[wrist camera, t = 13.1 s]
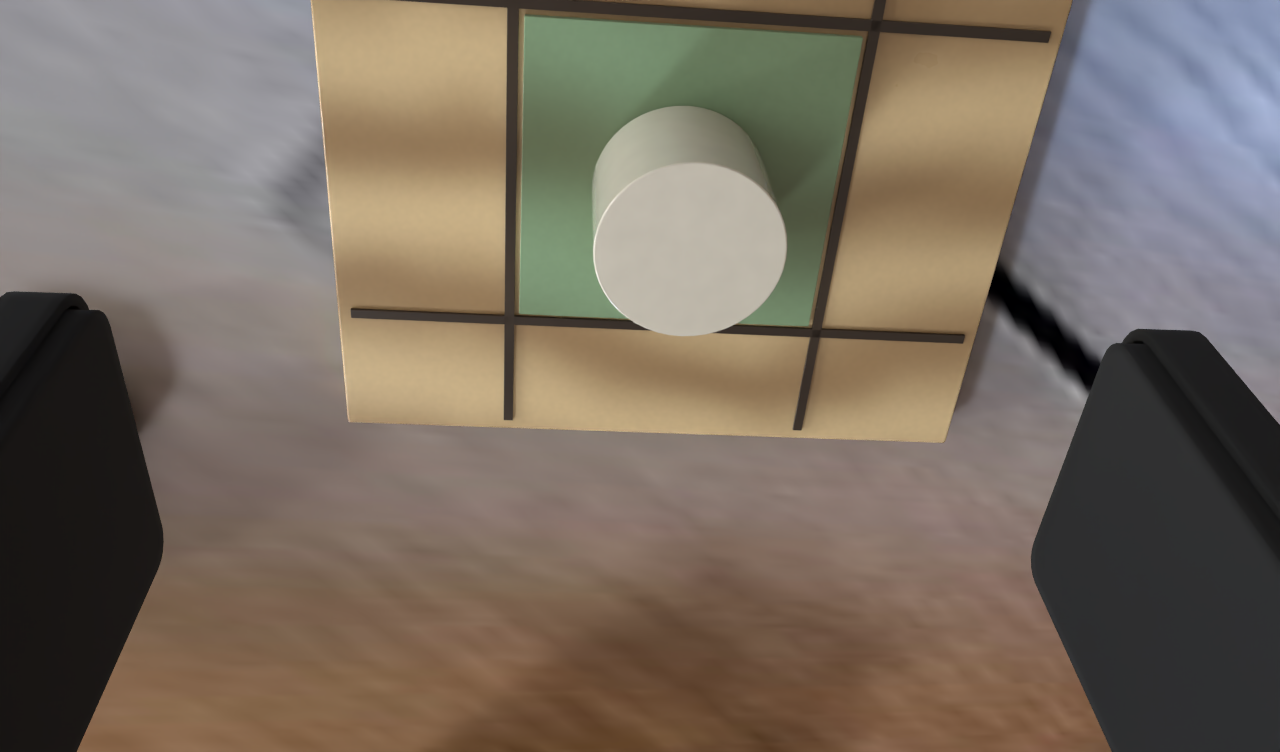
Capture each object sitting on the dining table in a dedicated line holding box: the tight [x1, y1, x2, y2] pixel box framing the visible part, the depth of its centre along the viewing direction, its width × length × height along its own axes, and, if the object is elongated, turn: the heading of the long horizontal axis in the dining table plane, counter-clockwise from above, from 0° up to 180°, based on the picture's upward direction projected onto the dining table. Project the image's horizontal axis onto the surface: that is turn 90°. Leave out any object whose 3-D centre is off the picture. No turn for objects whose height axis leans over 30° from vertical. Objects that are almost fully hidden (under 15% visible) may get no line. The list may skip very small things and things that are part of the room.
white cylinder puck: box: [592, 106, 788, 336], centre depth 30 cm, size 5×5×4 cm
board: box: [311, 0, 1073, 443], centre depth 32 cm, size 18×20×1 cm
